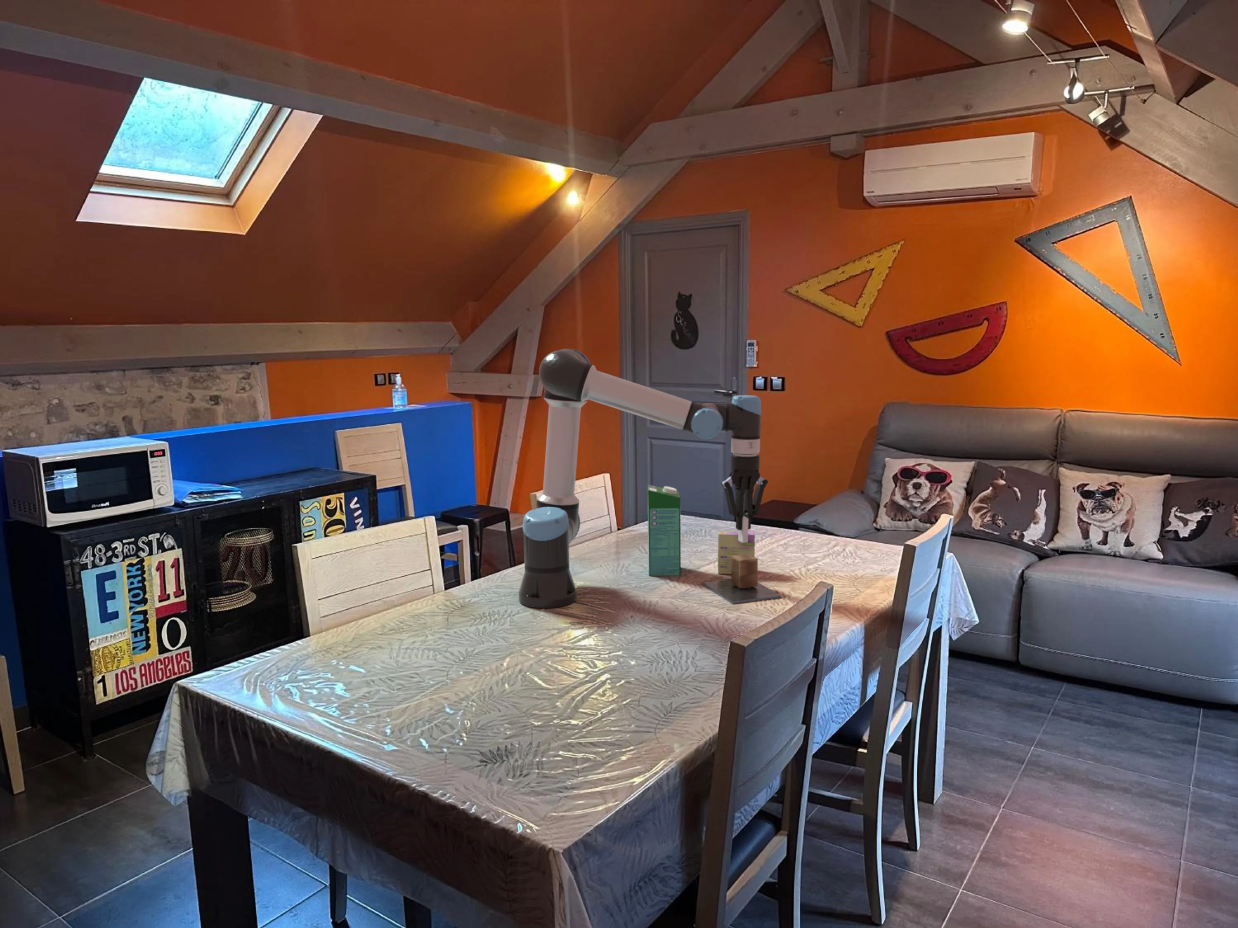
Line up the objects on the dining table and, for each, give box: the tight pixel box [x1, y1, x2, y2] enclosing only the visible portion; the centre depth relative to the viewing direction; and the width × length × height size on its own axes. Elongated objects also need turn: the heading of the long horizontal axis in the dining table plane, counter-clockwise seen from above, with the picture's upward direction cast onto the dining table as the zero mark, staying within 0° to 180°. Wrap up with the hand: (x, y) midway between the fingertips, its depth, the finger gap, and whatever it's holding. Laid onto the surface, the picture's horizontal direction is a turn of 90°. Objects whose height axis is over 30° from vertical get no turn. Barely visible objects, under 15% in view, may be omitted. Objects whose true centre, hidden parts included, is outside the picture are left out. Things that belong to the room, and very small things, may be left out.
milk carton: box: [647, 484, 682, 577], centre depth 247 cm, size 9×9×25 cm
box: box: [717, 529, 756, 575], centre depth 246 cm, size 10×6×12 cm, turn 84°
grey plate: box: [702, 578, 782, 605], centre depth 229 cm, size 14×18×8 cm
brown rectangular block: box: [730, 554, 759, 588], centre depth 231 cm, size 5×5×8 cm
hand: (742, 541), depth 230 cm, fingers closed
